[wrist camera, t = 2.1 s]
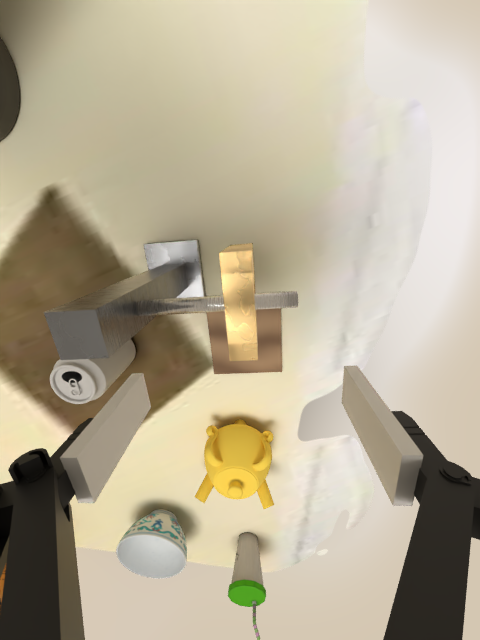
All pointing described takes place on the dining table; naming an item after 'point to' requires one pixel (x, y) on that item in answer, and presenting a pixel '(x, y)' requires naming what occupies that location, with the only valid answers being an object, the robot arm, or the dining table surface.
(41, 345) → the dining table surface
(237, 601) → the cup
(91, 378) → the can
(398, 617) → the robot arm
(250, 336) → the c link
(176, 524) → the chinaware
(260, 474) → the teapot
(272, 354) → the walnut board
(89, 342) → the stand
